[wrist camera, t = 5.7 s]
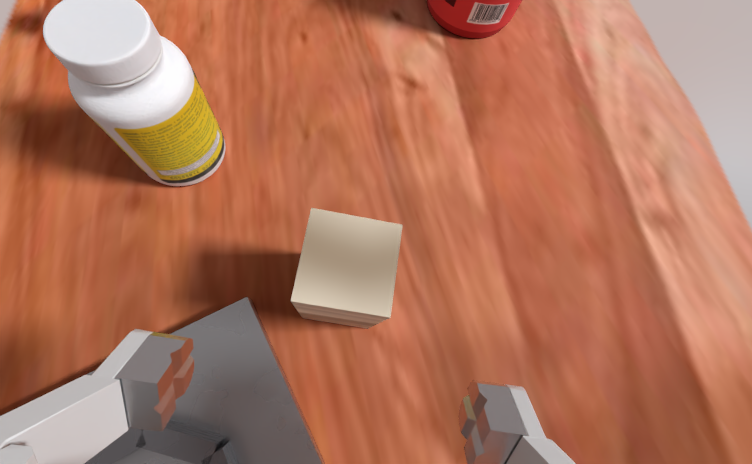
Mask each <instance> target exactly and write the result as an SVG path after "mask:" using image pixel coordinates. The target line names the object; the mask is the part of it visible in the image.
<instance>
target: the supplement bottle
mask: <svg viewBox="0 0 752 464" xmlns="http://www.w3.org/2000/svg"><path fill="white" fill-rule="evenodd" d="M43 36H44V39H45V42H46V44H47V46H48V48H49V49H50V50H51V51H52V53H53V54H54V55H55V56H56V57H57V58H58V59H59V60H60V62H61V63H62V64H63V65H64V66H65V67H66V68H67V70H69V71H68V83H69V88H70V91H71V93H72V96H73V97H74V99H75V101H76V102H77V103H78V105H79V106H80V107H81V108H82V109H83V110H84V112H85V113H86V114H87V115H88V116H89V117H90V118H91V119H92V120H93V121H94V122H95V123H96V124H97V125H98V126H99V127H100V128H102V130H103V131H104V132H105V133H106V134H107V135H108V136H109V137H110V138H111V139H112V140H113V141H114V142H115V143H116V144H117V145H118V146H119V147H120V148H121V149H122V150H123V151H124V152H125V153H126V154H127V155H128V156H129V157H130V158H131V159H132V160H133V161H134V162H135V163H136V164H137V165H138V166H139V167H140V168H141V169H142V170H143V171H144V172H145V173H146V174H147V175H148V176H150V177H151V178H152V179H154V180H156V181H158V182H160V183H163V184H166V185H170V186H188V185H193V184H196V183H199V182H201V181H203V180H205V179H206V178H208V177H209V176H211V175H212V174H213V173H214V172H215V171H216V170H217V169H218V167H219V166H220V164H221V162H222V160H223V158H224V154H225V140H224V137H223V134H222V132H221V129H220V127H219V125H218V123H217V121H216V119H215V116H214V114H213V112H212V110H211V108H210V106H209V103H208V101H207V99H206V97H205V95H204V93H203V91H202V89H201V87H200V84H199V82H198V80H197V78H196V75H195V73H194V71H193V69H192V68H191V66H190V64H189V62H188V60H187V58H186V57H185V55H184V54H183V53H182V51H181V50H180V49H179V48H178V47H177V46H176V45H174V44H173V43H172V42H171V41H169V40H167V39H166V38H164V37H162V36H160V35H159V33H158V31H157V30H156V28H155V26H154V25H153V23H152V21H151V19H150V17H149V15H148V13H147V12H146V10H145V9H144V8H143V7H142V6H141V5H140V4H139V3H138V2H136V1H135V0H63V1H61V2H60V3H59V4H57V5H56V6H55V7H54V8H53V9H52V10H51V11H50V12H49V14H48V16H47V17H46V19H45V22H44V26H43Z"/></svg>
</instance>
